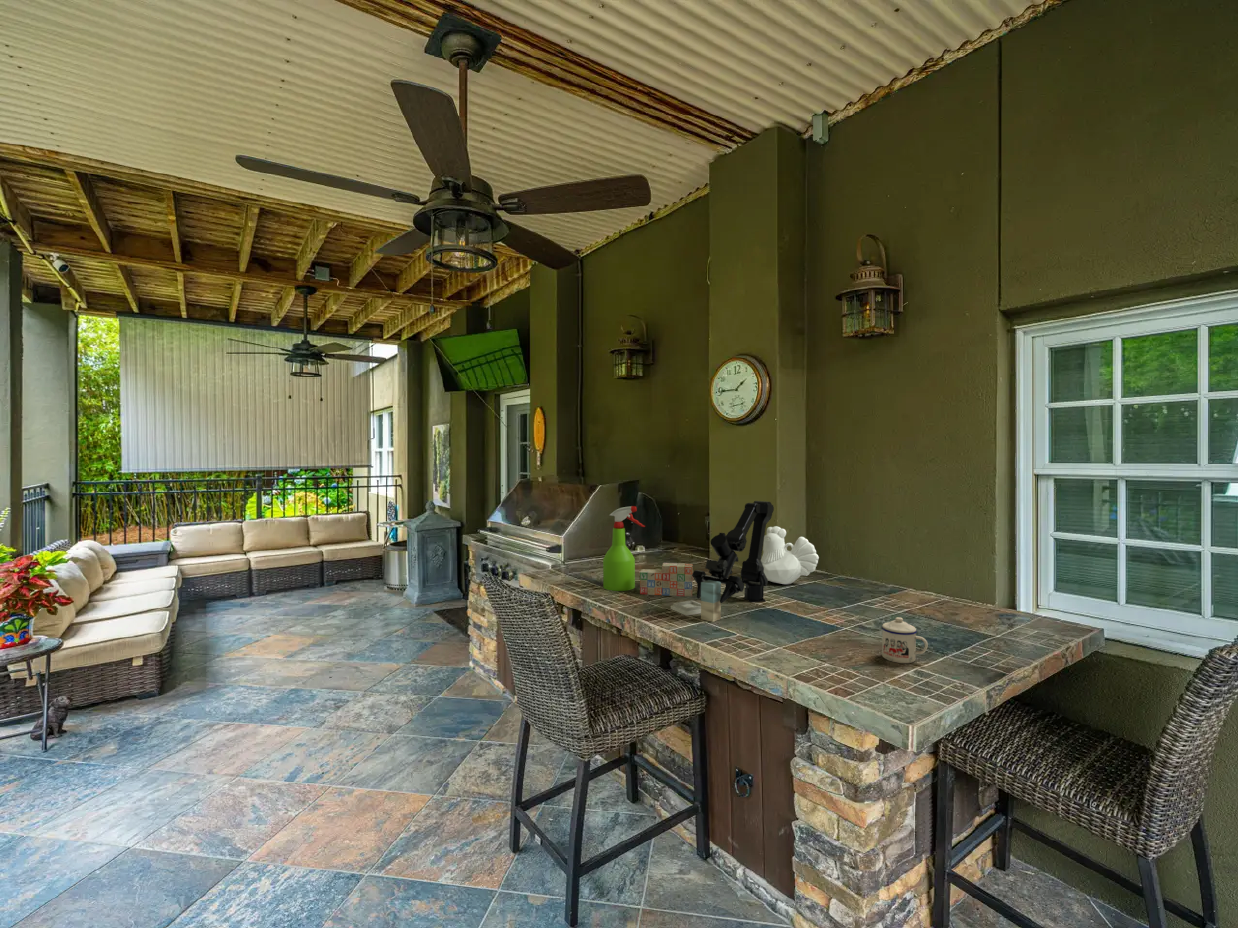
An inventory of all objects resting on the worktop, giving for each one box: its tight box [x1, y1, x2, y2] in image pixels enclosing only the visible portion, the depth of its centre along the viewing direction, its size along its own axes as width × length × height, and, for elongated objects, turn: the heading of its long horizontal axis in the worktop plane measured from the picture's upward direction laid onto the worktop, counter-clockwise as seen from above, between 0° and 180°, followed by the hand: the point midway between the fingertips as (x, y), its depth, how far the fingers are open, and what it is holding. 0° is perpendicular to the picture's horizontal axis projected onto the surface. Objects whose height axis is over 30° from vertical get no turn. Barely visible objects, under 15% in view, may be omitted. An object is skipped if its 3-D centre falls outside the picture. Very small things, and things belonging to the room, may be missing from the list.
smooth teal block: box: [700, 580, 722, 623], centre depth 211 cm, size 5×5×13 cm
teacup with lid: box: [881, 616, 929, 664], centre depth 171 cm, size 12×9×12 cm
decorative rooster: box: [761, 525, 820, 585], centre depth 263 cm, size 25×16×25 cm, turn 44°
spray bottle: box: [602, 505, 646, 592], centre depth 257 cm, size 14×18×35 cm
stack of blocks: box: [639, 562, 694, 597], centre depth 247 cm, size 21×6×12 cm, turn 81°
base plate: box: [670, 599, 701, 616], centre depth 222 cm, size 10×10×2 cm
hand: (708, 600), depth 210 cm, fingers open, 9 cm apart
